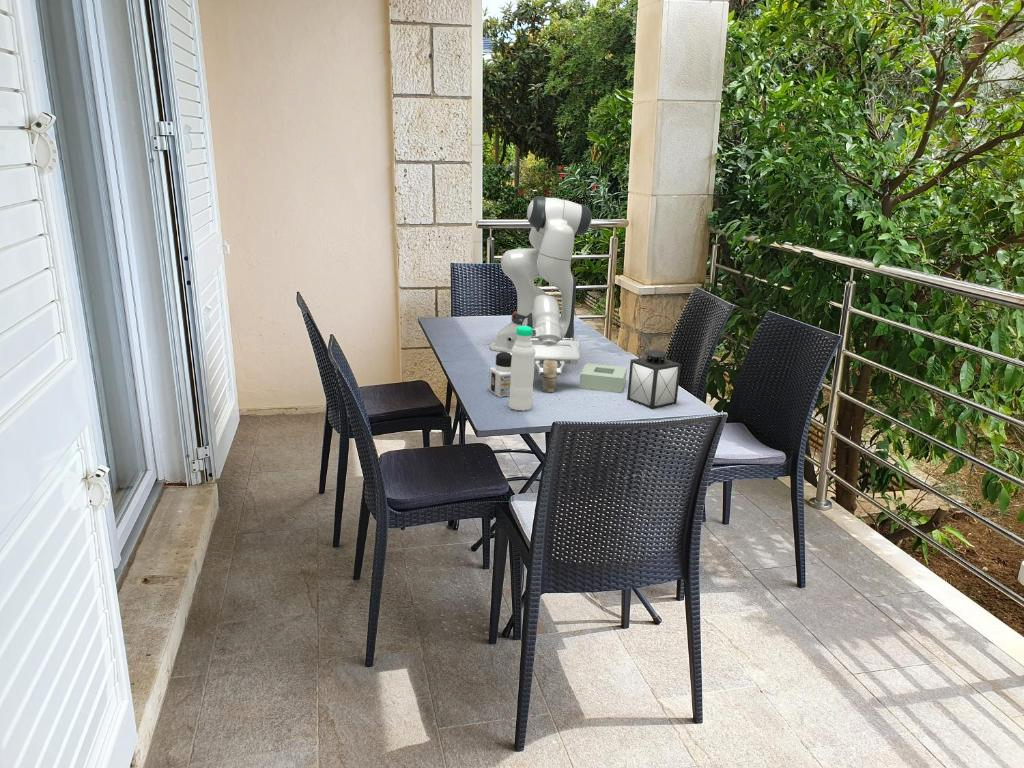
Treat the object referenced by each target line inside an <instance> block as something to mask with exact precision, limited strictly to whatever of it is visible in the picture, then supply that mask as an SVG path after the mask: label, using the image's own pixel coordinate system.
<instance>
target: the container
mask: <svg viewBox="0 0 1024 768" xmlns="http://www.w3.org/2000/svg"><path fill="white" fill-rule="evenodd" d="M511 359H512V353H510V352H503V351H500V352H499V353H497V354H496V355H495V366H494V367H490V368H489V381H488V382H489V385H488V391H489V392H491V394H493V395H495V396H497V397H498V398H504V397H503V396H507V397H510V385H511V379H510V375H511Z"/></svg>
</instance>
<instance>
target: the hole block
mask: <svg viewBox="0 0 1024 768" xmlns="http://www.w3.org/2000/svg"><path fill="white" fill-rule="evenodd" d="M627 372H628V367H627V366H626V367H625V366H617V365H608V364H607V365H606V364H600V363H587V362H586V363H585V365H584V367H583V369H582V370H581V372H580V374H579V389H581V388H582V390H583V389H584V390H591V389H593V390H592V391H600V390H602V391H603V392H609V391H610V393H618V392H621V393H620V394H622V393H623V391H624V388H625V385H626V381H627V374H628V373H627Z"/></svg>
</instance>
